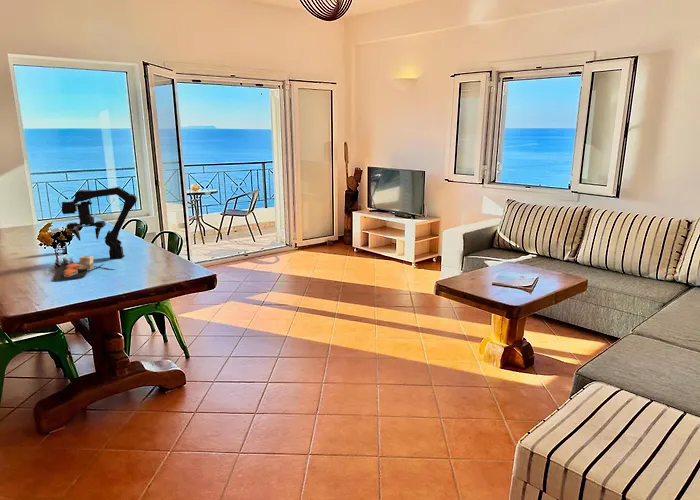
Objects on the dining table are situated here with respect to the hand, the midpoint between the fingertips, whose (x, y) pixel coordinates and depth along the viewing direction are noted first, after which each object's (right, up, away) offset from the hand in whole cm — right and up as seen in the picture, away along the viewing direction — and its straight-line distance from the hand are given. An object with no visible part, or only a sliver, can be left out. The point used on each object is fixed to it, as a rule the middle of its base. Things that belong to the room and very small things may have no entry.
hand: (88, 239), depth 272 cm
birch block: (+9, -15, -18) cm, 26 cm away
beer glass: (-28, -8, +21) cm, 36 cm away
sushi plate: (+10, -18, -17) cm, 27 cm away
